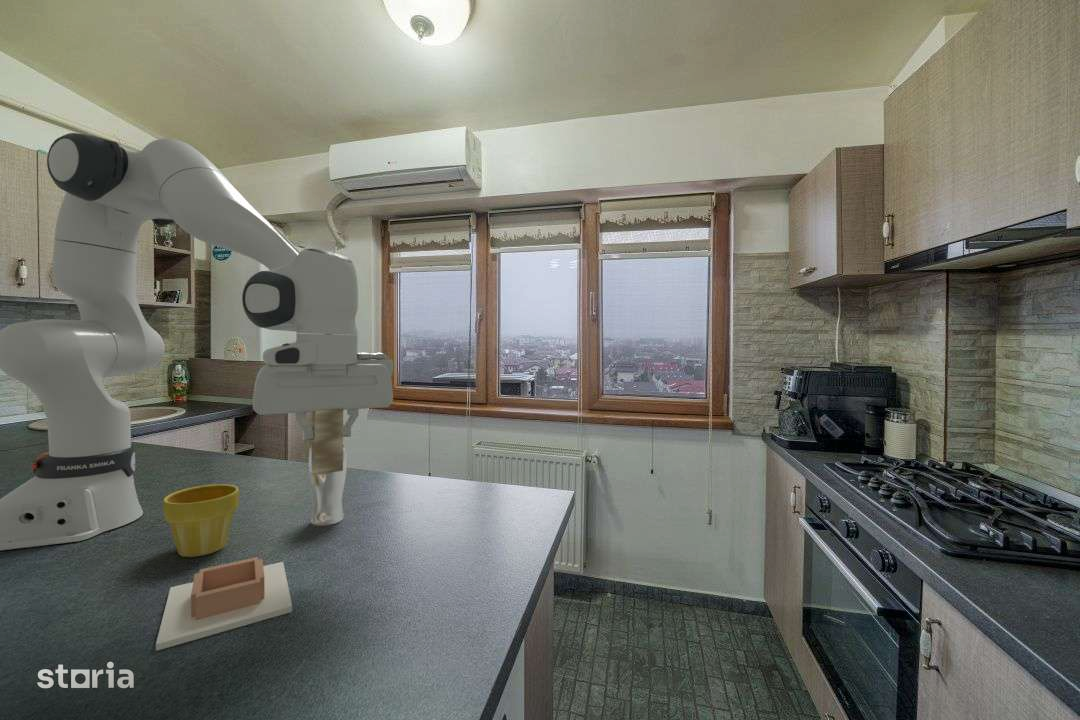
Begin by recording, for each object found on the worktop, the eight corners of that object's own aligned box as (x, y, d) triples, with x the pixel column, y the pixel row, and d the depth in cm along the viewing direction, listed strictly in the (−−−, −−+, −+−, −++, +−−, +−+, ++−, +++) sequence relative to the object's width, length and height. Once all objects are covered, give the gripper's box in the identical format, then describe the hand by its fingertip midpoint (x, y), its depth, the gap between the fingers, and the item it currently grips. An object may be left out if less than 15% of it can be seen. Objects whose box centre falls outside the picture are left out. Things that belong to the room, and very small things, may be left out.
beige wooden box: (315, 474, 68) (315, 410, 68) (311, 468, 72) (311, 407, 71) (342, 470, 71) (343, 409, 70) (338, 464, 74) (338, 405, 74)
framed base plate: (155, 650, 52) (155, 619, 51) (170, 592, 63) (170, 566, 63) (292, 611, 60) (292, 584, 59) (283, 566, 71) (283, 543, 71)
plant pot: (198, 534, 82) (197, 482, 81) (252, 536, 81) (252, 484, 81) (146, 562, 71) (145, 502, 71) (208, 564, 71) (208, 505, 71)
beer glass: (331, 529, 85) (331, 452, 85) (299, 525, 87) (300, 449, 86) (353, 515, 92) (353, 444, 91) (323, 511, 93) (324, 441, 93)
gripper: (388, 352, 79) (387, 428, 80) (252, 351, 67) (252, 440, 68) (398, 353, 74) (397, 435, 74) (253, 352, 62) (253, 449, 63)
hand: (327, 438), depth 71 cm, fingers closed on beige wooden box, 4 cm apart
